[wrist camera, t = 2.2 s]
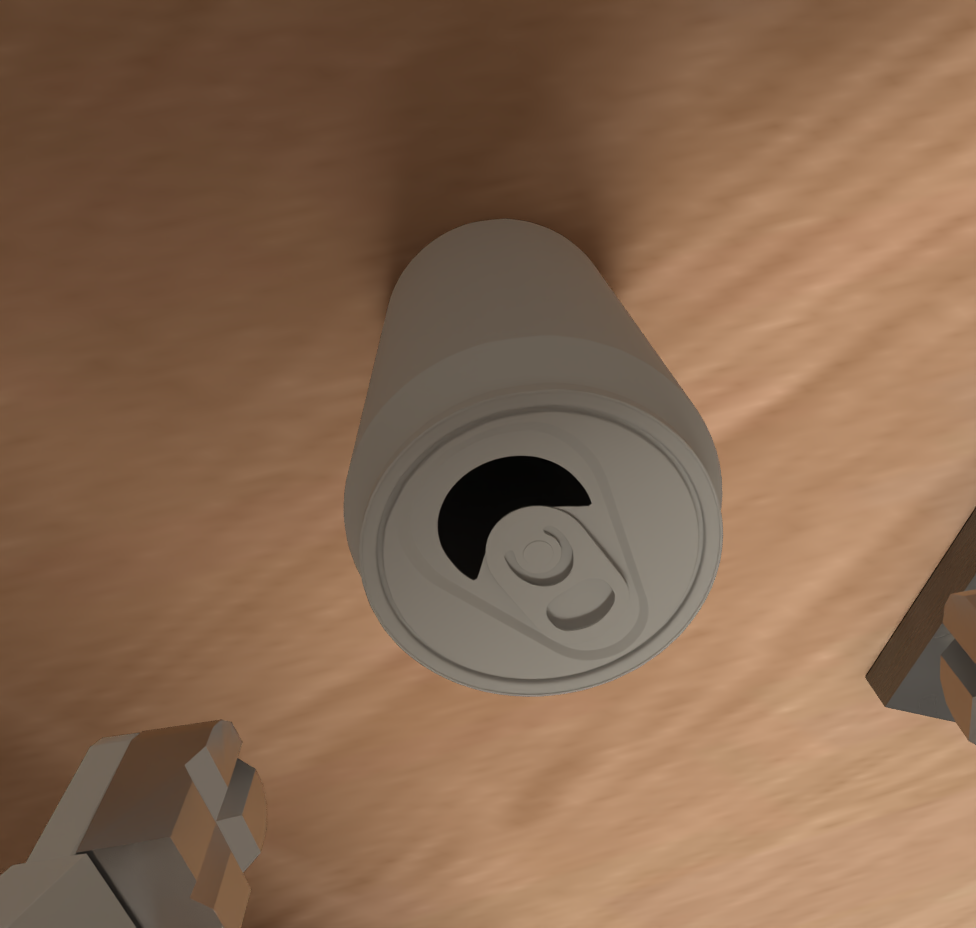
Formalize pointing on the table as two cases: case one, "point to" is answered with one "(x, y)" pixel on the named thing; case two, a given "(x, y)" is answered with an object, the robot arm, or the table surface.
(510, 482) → the beverage can
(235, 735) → the robot arm
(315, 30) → the table surface
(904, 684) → the plate with brass posts
